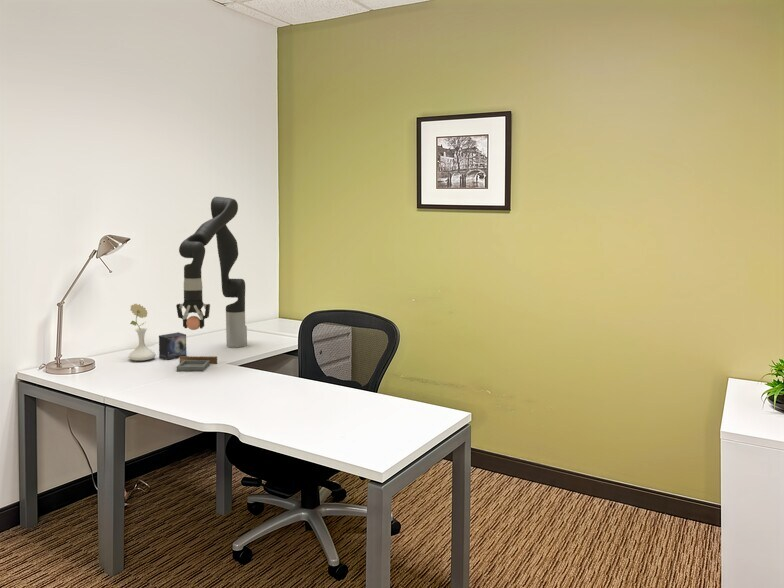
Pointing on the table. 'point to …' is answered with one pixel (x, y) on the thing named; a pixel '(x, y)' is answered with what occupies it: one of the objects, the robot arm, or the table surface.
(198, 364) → the tray
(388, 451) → the table surface
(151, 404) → the table surface
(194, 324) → the ball
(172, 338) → the small box
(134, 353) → the flower in vase
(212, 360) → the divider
